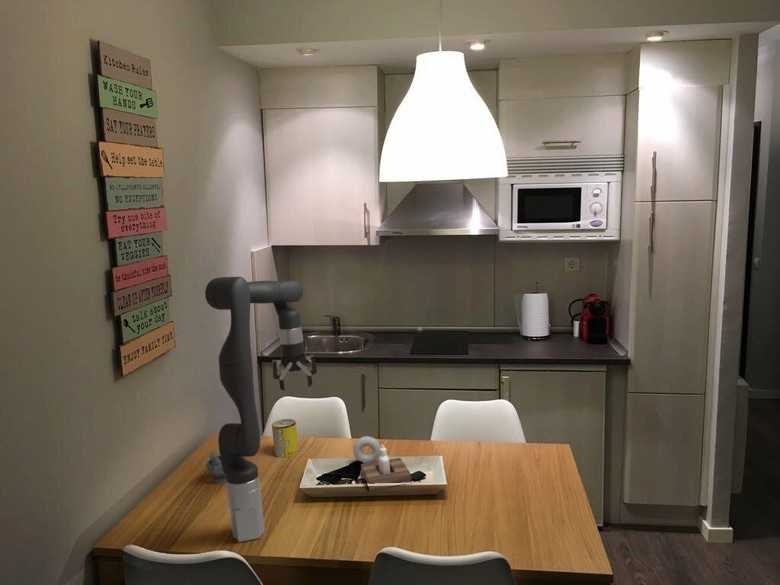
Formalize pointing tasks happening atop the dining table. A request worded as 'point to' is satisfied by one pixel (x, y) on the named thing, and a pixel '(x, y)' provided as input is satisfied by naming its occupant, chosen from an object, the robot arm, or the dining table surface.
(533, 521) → the dining table surface
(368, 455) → the donut
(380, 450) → the eye dropper bottle
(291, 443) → the beverage can
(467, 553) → the dining table surface
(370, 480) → the walnut socket block
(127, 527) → the dining table surface
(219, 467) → the mortar and pestle
